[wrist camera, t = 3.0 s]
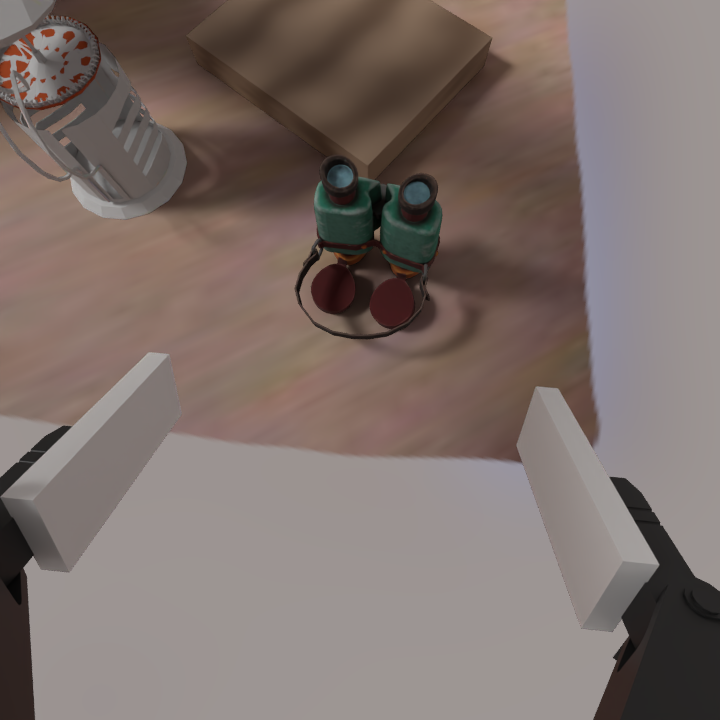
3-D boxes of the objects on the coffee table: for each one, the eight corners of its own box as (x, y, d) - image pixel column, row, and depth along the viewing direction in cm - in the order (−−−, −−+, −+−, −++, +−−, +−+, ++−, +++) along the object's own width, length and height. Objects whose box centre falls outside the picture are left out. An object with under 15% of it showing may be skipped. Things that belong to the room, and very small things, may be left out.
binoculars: (258, 291, 22) (311, 121, 23) (297, 334, 32) (332, 215, 33) (427, 334, 21) (472, 156, 22) (411, 363, 31) (442, 241, 33)
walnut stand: (197, 63, 38) (185, 35, 35) (315, -40, 40) (312, -72, 38) (367, 186, 34) (367, 165, 32) (484, 65, 37) (492, 37, 35)
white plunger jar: (187, 114, 36) (-173, -590, 12) (186, 233, 33) (-289, -373, 9) (74, 124, 36) (-516, -564, 12) (63, 244, 33) (-739, -337, 9)
